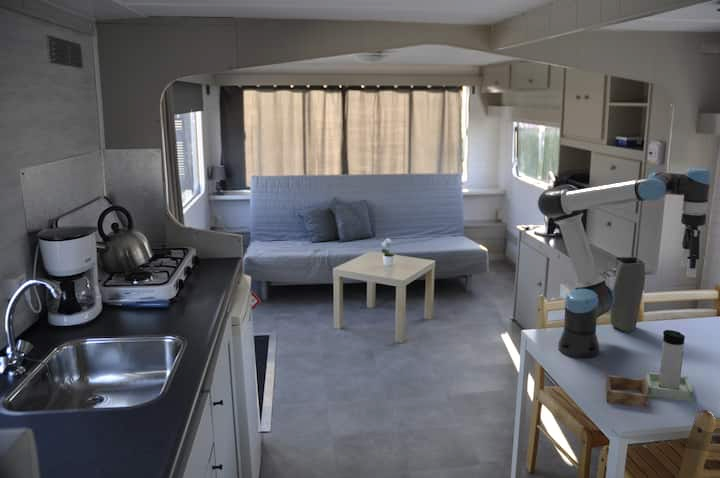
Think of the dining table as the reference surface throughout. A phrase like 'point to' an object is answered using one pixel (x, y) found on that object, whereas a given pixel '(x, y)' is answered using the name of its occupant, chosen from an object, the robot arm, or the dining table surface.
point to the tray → (681, 394)
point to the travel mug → (671, 360)
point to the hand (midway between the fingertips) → (688, 271)
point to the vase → (627, 292)
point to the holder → (626, 397)
